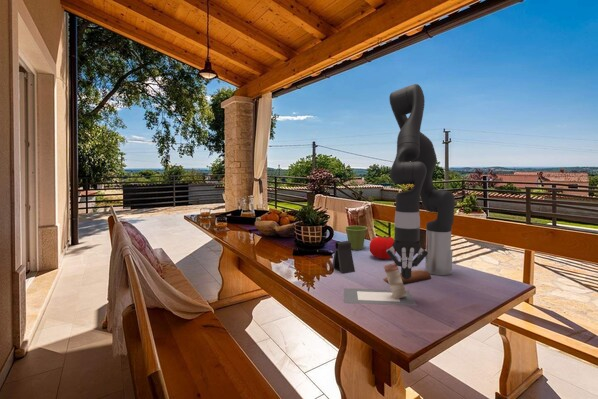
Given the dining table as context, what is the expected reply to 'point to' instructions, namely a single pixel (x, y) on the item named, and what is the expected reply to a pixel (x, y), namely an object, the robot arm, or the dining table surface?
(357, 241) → the plant pot
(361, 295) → the rubber mat
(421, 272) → the sunglasses case
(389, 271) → the ash block
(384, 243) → the tomato
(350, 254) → the phone stand
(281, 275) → the dining table surface
